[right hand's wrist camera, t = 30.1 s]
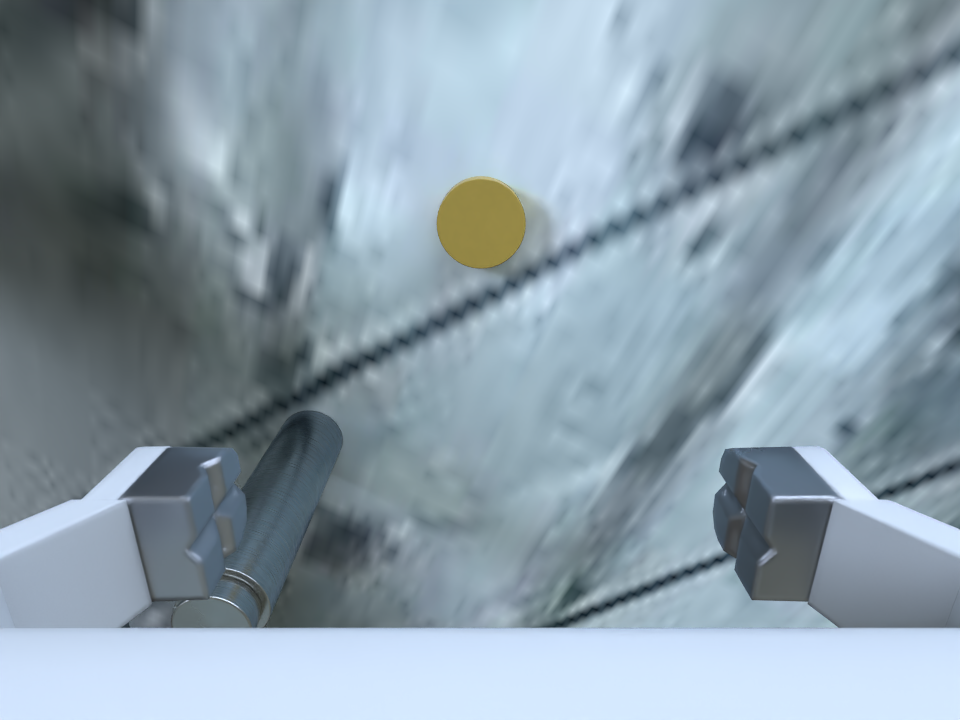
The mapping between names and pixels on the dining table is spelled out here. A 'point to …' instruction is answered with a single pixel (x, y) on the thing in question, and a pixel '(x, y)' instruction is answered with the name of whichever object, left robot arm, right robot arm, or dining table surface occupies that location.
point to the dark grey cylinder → (270, 525)
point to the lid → (481, 222)
